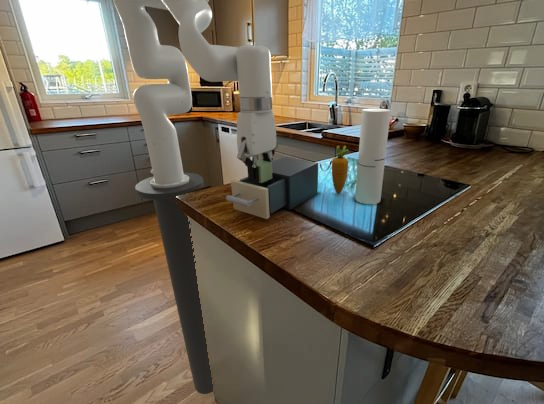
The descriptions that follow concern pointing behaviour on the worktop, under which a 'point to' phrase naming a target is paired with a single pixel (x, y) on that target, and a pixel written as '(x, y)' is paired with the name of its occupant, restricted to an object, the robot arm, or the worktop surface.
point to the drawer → (259, 196)
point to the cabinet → (297, 179)
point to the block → (264, 170)
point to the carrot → (339, 170)
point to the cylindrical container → (372, 154)
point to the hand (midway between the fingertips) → (260, 177)
